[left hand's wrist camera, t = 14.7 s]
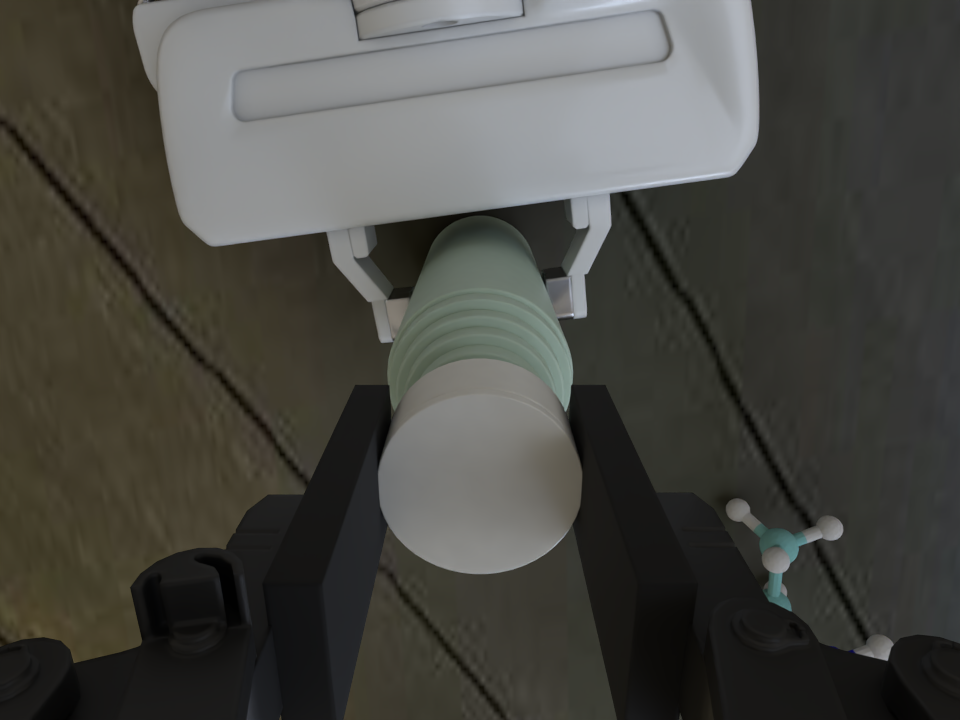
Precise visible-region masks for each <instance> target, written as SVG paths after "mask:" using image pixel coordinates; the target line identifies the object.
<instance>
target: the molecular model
mask: <svg viewBox="0 0 960 720" xmlns="http://www.w3.org/2000/svg"><path fill="white" fill-rule="evenodd" d="M726 513H727V515H728V516H729V518H731V519H732V520H734V521H737V522H740V521H742V522H744V523H745V524H746V525H747V526H748V527H749V528H750V529H751V530H752V531H753V532H755V533H756V534H757V535H758V536H759V537H760V542H759V546H760V551H761V553H762V563H763V565H764V567H765V568H766V569H767V570H768V571H769V581H768V582H767V583H766V584H765V586H764V590H763V592H764V594H765V595H766V597H767V599H768V600H769V602H773V603H775V604H777V605H779V606H781V607H783V608H785V609H787V610H789V611H792V610H791V604H790V601H789V600H788V598H787V597H786V596H787V590H786V588H785V586H784V585H783V584H782V583H781V582H782V573H783V572H785V571H786V570H787V569H788V568H789V565H790V563H791V562H792V561H794V560H795V558H796V557H797V554H798V551H799V548H798V546H801V545H803V544H806V543H809V542H811V541H814V540H817V539H820V538H824V539H826V540H836V539H838V538H839V537H841V535H842V533H843V526H842V524H841V522H840V521H839V520H838V519H837V518H835V517H833V516H823V517H821V518H819V519H818V521H817V523H816V526H814V527H811V528H809V529H806V530H803V531H801V532H798V533H796V534H793V535H792V534H791V533H790V532H788V531H787V530H784V529H780V528H772V529H768V528H766V527H765V526H764V525H763V524H762V523H761V522H760V521H758V520H757V519H756V518H755V517H754V516H753V515H752V514H751V513H750V507H749V505H748V504H747V502H746V501H744V500H742V499H738V498H736V499H732V500H730V501H729V502H728V504H727V505H726ZM893 645H894V644H893V643H892V641H891V640H890V639H889V638H887V637H886V636H884V635H879V634H875V635H872V636H871V637H869V638H868V640H867V643H866V645H865V646H862V647H859V648H856V649H853V650H850V651H848V652H852V653H856V654H861V655H865V656H869V657H874V658H878V659H882V660H886V661H888V657H889V654H890V650H891V647H892V646H893ZM830 647H832V646H830ZM833 648H836V647H833ZM837 649H838V648H837Z"/></svg>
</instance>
